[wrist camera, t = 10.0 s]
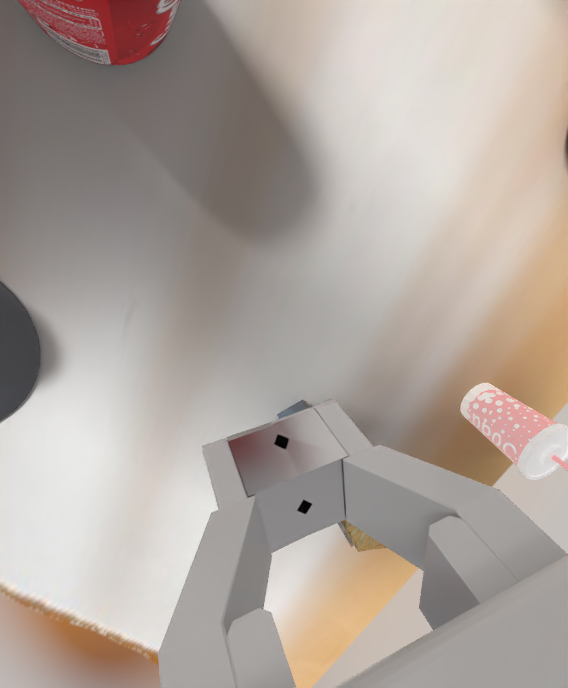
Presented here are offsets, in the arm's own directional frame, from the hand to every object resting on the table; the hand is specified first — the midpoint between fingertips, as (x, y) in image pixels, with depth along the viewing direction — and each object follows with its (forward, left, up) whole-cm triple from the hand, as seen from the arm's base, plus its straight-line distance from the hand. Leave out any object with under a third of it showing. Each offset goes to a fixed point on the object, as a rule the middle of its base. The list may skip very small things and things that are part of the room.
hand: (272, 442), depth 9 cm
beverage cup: (+24, +27, -20) cm, 41 cm away
